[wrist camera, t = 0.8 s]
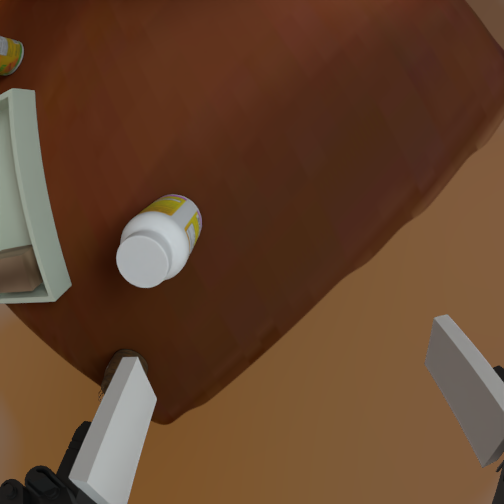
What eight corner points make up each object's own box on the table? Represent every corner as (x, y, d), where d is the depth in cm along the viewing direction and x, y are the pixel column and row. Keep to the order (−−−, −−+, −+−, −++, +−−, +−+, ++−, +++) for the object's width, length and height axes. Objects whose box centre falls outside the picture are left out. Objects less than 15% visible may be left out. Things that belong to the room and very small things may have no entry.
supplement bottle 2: (138, 217, 37) (90, 255, 25) (177, 181, 35) (140, 205, 23) (174, 258, 39) (142, 311, 27) (214, 225, 37) (196, 269, 25)
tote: (-29, 124, 31) (-50, 127, 26) (34, 90, 30) (12, 88, 26) (7, 289, 41) (-10, 303, 36) (71, 285, 40) (55, 301, 35)
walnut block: (2, 249, 38) (-18, 261, 33) (40, 242, 37) (20, 255, 33) (11, 279, 39) (-7, 293, 35) (50, 275, 39) (32, 290, 34)
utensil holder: (142, 346, 44) (116, 404, 32) (154, 378, 46) (134, 435, 34) (108, 347, 44) (78, 400, 33) (122, 377, 46) (97, 431, 35)
